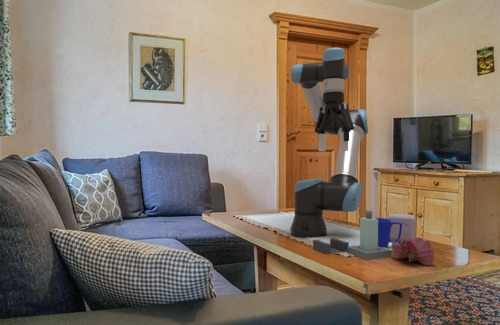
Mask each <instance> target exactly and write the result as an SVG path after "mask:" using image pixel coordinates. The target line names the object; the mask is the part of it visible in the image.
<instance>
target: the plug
mask: <svg viewBox="0 0 500 325" xmlns="http://www.w3.org/2000/svg"><path fill="white" fill-rule="evenodd" d="M375 218H376V217H373V211H372V210H365V217H360V218H359V245H360V249H363V250H366V251H373V250H378V219H375Z"/></svg>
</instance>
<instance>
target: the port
mask: <svg viewBox="0 0 500 325" xmlns="http://www.w3.org/2000/svg"><path fill="white" fill-rule="evenodd" d="M346 253H347V254H350V255H352V256H354V257H357V258H360V259H363V260H366V261H369V260H371V261H372V260H377V259H385V258H391V257H393V256H392V254H393V250H392V249H389V248H388V247H387V248H384V247H379V246H378V250H373V251H366V250H363V249H360V244H359V245H349V246H348V247H347V252H346Z"/></svg>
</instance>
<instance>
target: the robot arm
mask: <svg viewBox="0 0 500 325" xmlns="http://www.w3.org/2000/svg"><path fill="white" fill-rule="evenodd" d="M322 56H323V57H322V61H321V62H310V63H298V64H294V65H293V66H291V70H290V79H291V82H292V83H293V84H294V85H295V84H297V85H300V87H301V89H302V91H303V94H304V96H305V98H306V100H307V103H308V106H309V108H310V111H311V116H310V117H311V119H312V122H313V123H314V125H315V128H314V133H316V134H318V135H317V136H318V152H326V150H327V149H326V147H327V143H326V142H327V134H329V135H334V136H335V135H336V136H338V137H339V138H340V139H339V140H340V141H339V146H338V151H337V152H338V153H337V159H336V163H335V164H336V165H335V171H334V175H332V176H331V177H330V179H329V181H324V179H323V178H313V179H303V180H302V179H301V180H299V181H296V183H295V185H294V192H293V193H294V216H293V220H292V223H291V226H290V229H289V230H290V236H293V237H298V238H304V237H309V238H321V237H323V238H324V237H326V236H327V235H328V229H327V226H326V223H325V219H324V214H323V212H324V211H331V212H332V211H333V212H344V213H347V212H348V213H349V212H351V213H353V212H356V211H357V210H359V207H360V204H361V200H362V194H363V189H362V184H361V183H360V182H359V180H358V178H357V177H356V176H357V169H358V160H359V152H360V143H361V140H362V139H364V138H365V135H368V134H369V127H368V124H369V123H368V115H367V111H366V110H365V109H363V108H362V109H360V108H355V109H349V104H348V103H344V102H345V93H344V91H345V81H347V80H348V79H349V77H350V72H351V70H350V68H349V65H348V64H347V63H346V62H345V57H346V56H345V49H344V48H341V47H330V48H326V49H325V50H324V51H323V55H322ZM321 83H322V86H321ZM309 238H308V239H309Z"/></svg>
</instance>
